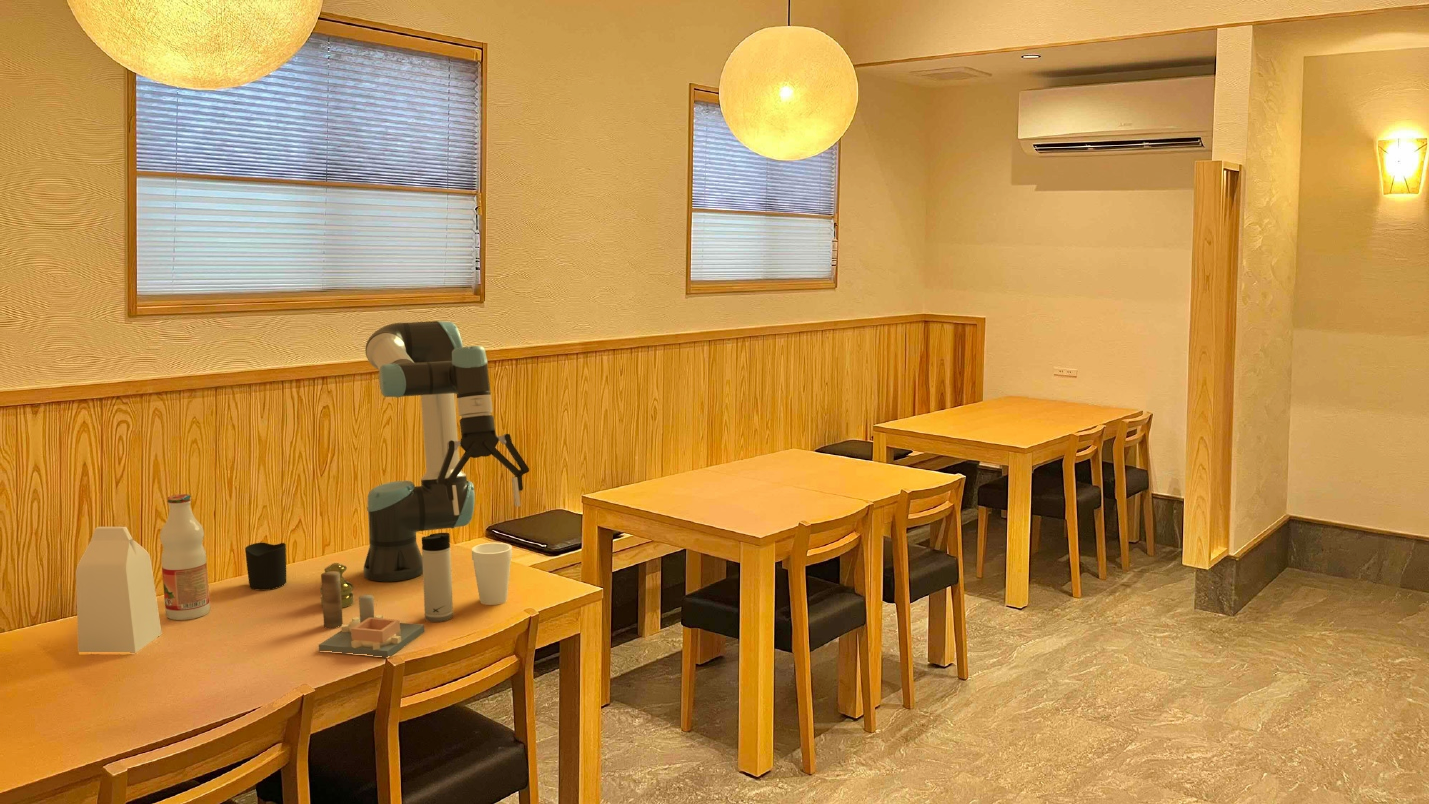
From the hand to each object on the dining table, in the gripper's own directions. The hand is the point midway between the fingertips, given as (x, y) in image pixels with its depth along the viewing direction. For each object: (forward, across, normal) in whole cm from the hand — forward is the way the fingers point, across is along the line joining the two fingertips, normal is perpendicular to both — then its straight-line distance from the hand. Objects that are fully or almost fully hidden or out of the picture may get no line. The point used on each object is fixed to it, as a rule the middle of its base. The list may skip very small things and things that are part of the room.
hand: (487, 510), depth 253 cm
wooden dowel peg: (+22, -34, +17) cm, 44 cm away
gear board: (+25, -27, +3) cm, 37 cm away
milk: (+19, -78, +21) cm, 83 cm away
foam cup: (+23, +2, +20) cm, 31 cm away
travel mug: (+24, -12, +13) cm, 29 cm away
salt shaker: (+19, -33, +31) cm, 49 cm away
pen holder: (+14, -48, +52) cm, 72 cm away
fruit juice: (+16, -65, +37) cm, 77 cm away
